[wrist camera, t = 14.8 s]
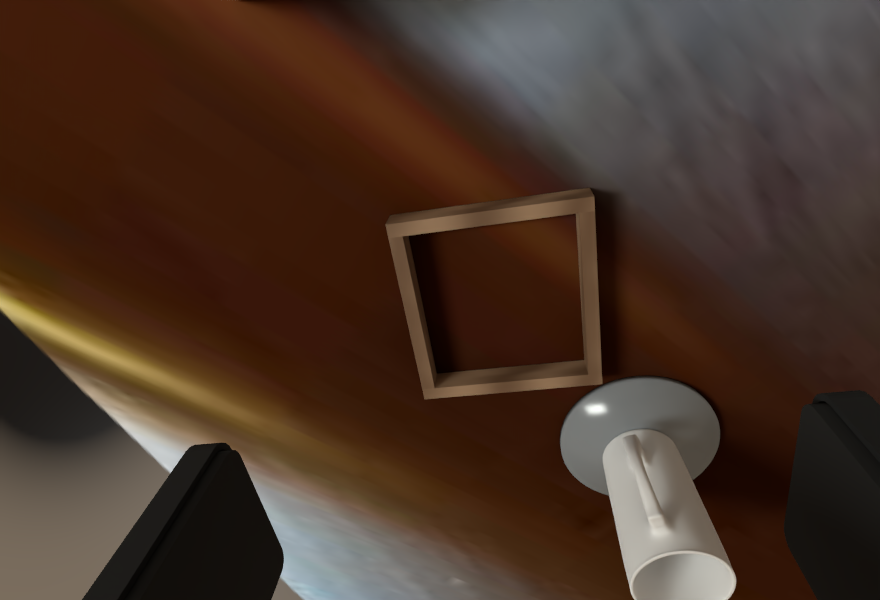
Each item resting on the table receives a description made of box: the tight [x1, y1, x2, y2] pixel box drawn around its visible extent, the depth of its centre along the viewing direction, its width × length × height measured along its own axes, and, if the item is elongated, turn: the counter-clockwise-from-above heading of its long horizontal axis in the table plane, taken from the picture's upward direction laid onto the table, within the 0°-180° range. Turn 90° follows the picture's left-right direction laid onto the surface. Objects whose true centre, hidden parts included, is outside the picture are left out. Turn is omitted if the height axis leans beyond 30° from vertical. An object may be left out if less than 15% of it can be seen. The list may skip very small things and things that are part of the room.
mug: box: [603, 429, 736, 600], centre depth 41 cm, size 10×7×12 cm, turn 25°
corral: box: [386, 188, 602, 399], centre depth 41 cm, size 14×15×2 cm
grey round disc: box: [560, 376, 720, 495], centre depth 46 cm, size 13×13×1 cm
